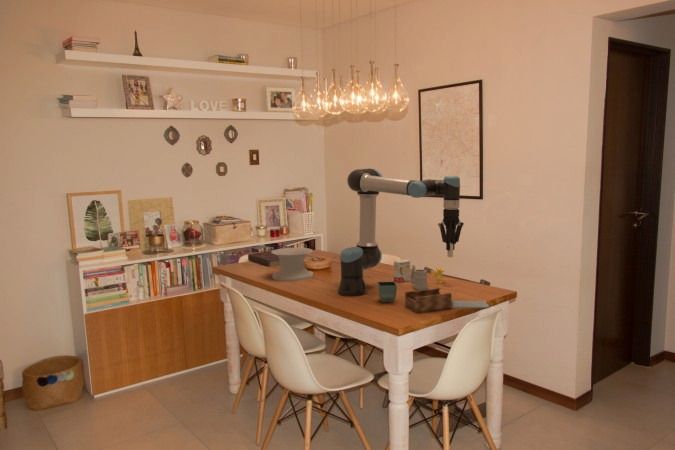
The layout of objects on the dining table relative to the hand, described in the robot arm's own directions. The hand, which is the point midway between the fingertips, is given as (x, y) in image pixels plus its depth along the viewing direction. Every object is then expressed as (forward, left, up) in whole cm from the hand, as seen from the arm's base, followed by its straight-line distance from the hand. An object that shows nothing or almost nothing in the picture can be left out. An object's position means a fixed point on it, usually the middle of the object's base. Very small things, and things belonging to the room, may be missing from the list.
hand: (450, 256), depth 262 cm
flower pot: (-28, +12, -22) cm, 38 cm away
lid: (+4, -10, -23) cm, 25 cm away
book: (-60, +139, -23) cm, 153 cm away
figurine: (+16, +34, -22) cm, 43 cm away
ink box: (-3, +48, -22) cm, 53 cm away
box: (-15, -6, -22) cm, 28 cm away
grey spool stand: (-58, +86, -22) cm, 106 cm away
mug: (-2, +30, -22) cm, 37 cm away
